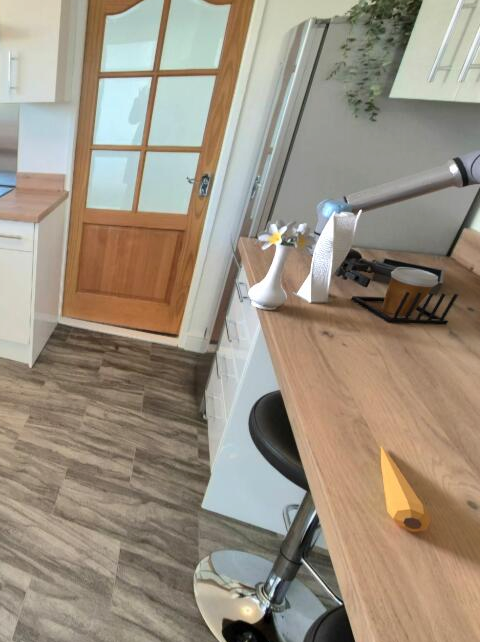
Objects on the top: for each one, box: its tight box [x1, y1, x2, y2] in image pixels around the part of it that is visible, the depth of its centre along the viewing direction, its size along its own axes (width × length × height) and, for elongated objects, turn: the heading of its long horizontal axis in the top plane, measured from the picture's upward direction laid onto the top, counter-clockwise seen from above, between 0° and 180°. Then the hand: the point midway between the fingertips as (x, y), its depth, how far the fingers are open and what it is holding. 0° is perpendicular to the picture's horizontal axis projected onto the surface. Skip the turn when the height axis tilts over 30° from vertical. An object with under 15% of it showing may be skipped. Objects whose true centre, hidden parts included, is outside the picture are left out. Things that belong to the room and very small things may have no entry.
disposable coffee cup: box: [381, 267, 438, 317], centre depth 119 cm, size 10×10×12 cm
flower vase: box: [247, 218, 316, 311], centre depth 120 cm, size 13×18×25 cm
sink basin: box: [370, 257, 445, 296], centre depth 140 cm, size 15×15×4 cm
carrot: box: [380, 445, 432, 533], centre depth 69 cm, size 20×4×4 cm, turn 147°
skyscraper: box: [292, 210, 363, 304], centre depth 123 cm, size 8×8×28 cm
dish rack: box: [350, 292, 459, 326], centre depth 120 cm, size 15×14×9 cm
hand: (392, 284), depth 123 cm, fingers open, 13 cm apart
